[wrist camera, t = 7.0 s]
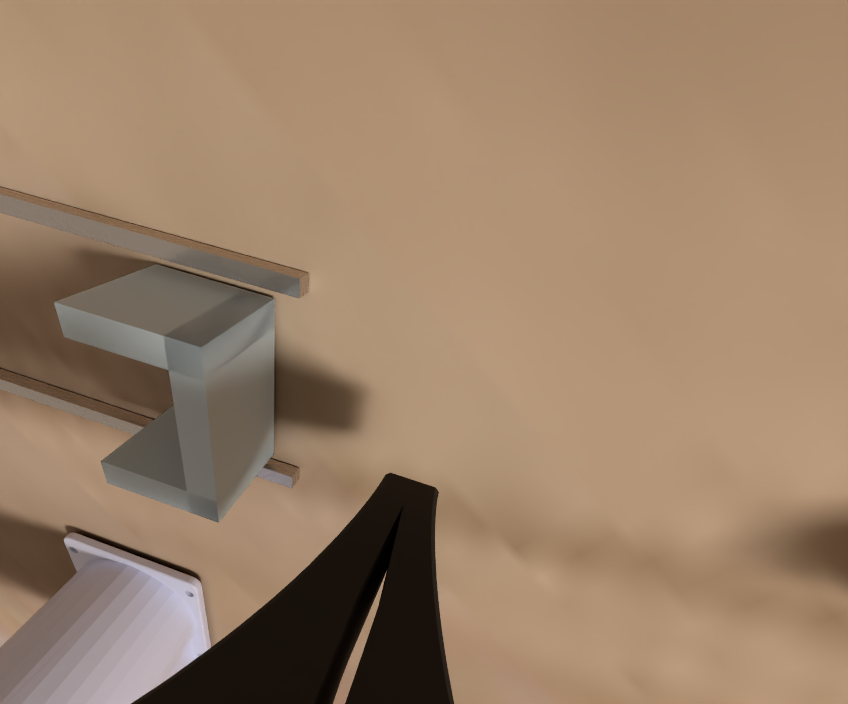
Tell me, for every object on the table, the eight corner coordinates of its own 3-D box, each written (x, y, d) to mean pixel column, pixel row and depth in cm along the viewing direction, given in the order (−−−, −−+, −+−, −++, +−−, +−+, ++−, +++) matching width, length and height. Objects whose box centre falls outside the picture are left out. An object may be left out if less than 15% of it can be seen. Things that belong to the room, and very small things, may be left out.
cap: (273, 453, 16) (218, 522, 13) (179, 422, 16) (107, 482, 13) (274, 298, 12) (201, 347, 10) (156, 264, 13) (53, 301, 10)
